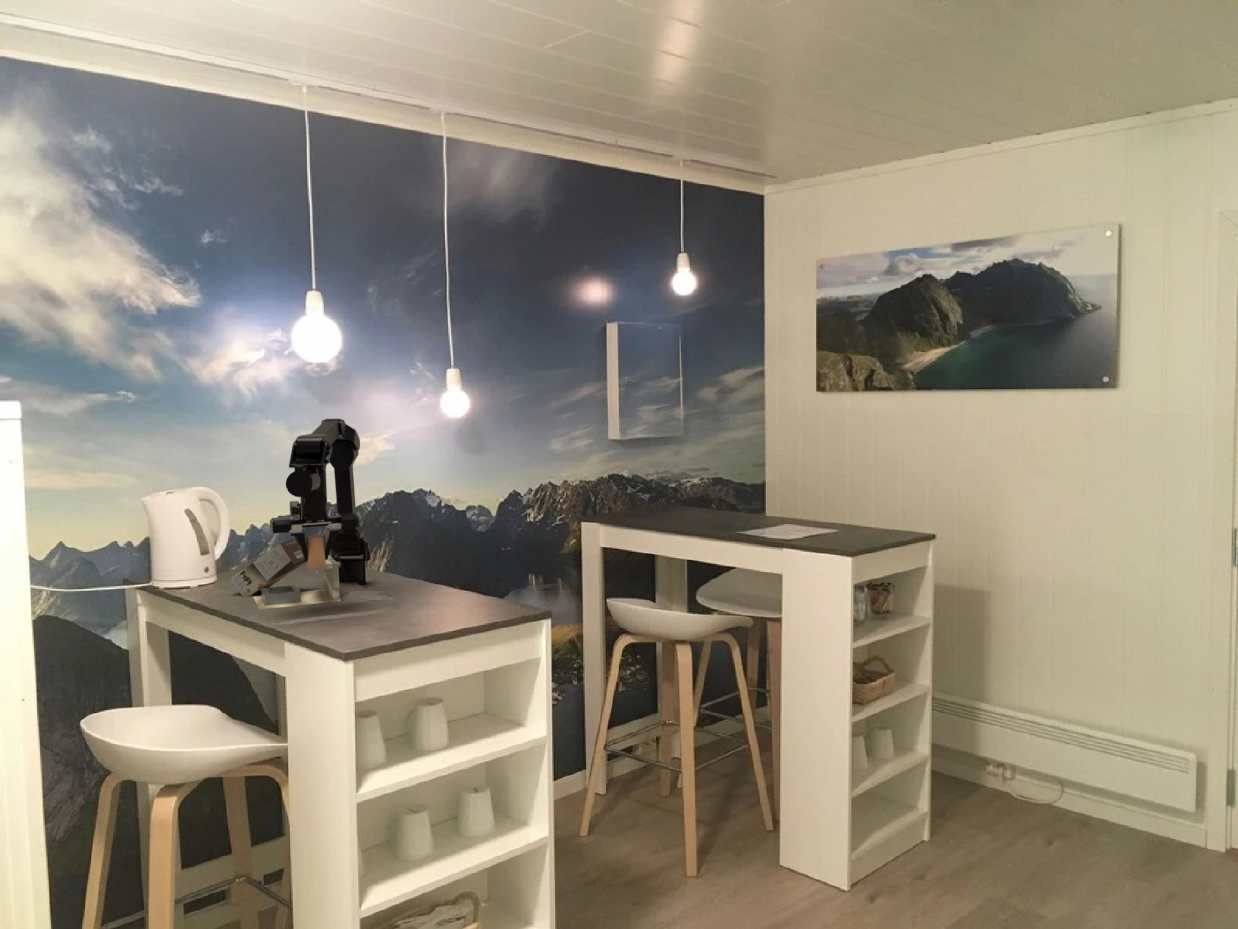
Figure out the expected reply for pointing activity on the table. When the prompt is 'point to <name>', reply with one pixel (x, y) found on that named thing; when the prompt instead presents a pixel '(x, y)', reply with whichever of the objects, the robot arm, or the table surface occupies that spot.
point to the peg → (315, 552)
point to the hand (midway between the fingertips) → (316, 560)
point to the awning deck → (315, 596)
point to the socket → (280, 595)
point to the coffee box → (269, 568)
